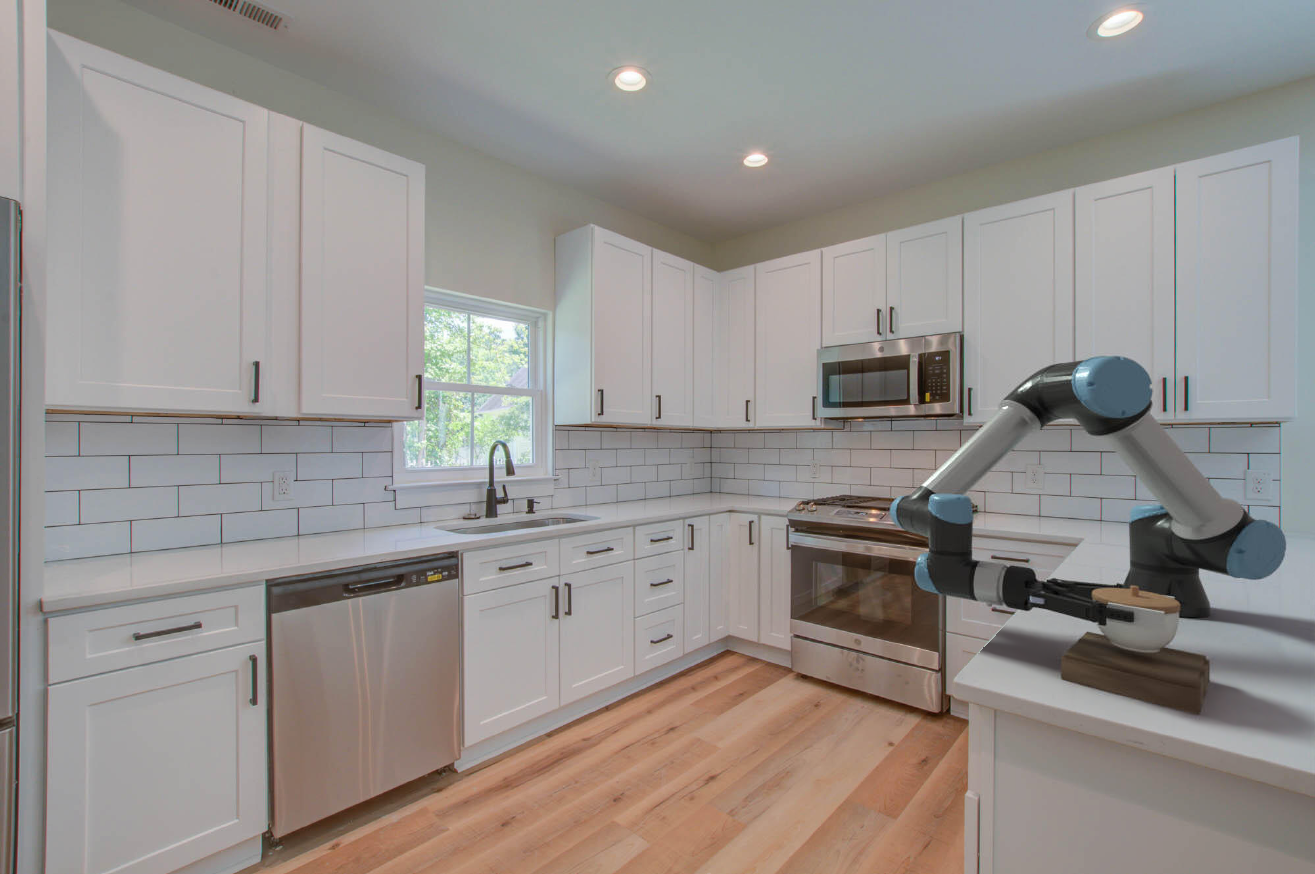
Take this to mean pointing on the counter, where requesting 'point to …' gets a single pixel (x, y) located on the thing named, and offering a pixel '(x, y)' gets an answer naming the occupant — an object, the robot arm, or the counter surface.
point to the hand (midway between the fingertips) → (1169, 613)
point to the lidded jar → (1135, 635)
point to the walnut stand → (1139, 672)
